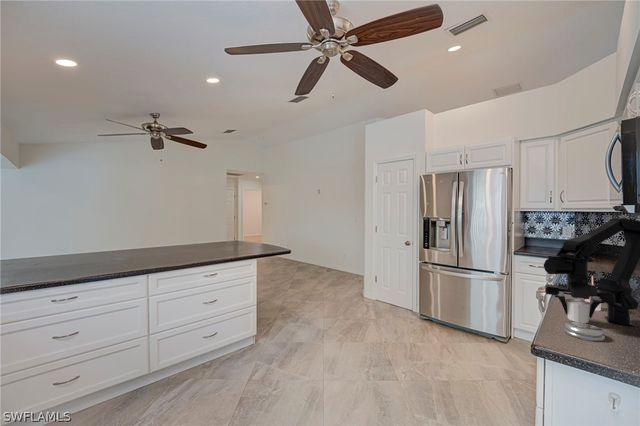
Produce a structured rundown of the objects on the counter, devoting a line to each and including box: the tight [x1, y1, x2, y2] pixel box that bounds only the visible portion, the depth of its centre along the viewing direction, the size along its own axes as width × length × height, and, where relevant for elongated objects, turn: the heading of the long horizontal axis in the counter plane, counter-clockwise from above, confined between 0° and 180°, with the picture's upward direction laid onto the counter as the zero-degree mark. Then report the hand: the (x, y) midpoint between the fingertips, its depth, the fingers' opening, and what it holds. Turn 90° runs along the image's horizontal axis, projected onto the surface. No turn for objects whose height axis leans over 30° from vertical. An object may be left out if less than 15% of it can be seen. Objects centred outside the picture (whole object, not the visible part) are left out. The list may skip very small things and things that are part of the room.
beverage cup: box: [584, 275, 602, 312], centre depth 118 cm, size 6×6×14 cm
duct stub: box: [563, 321, 606, 343], centre depth 93 cm, size 10×10×3 cm
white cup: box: [565, 298, 591, 324], centre depth 104 cm, size 7×7×7 cm
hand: (578, 315), depth 104 cm, fingers closed on white cup, 6 cm apart
